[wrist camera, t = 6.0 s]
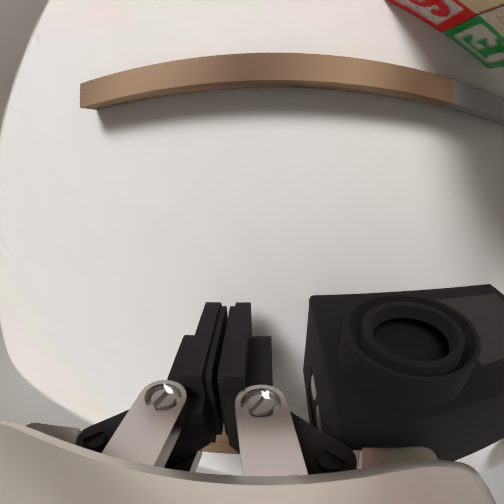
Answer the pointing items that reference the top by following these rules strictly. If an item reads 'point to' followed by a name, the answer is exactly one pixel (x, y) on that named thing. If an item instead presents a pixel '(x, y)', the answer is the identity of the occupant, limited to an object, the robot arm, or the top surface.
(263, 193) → the top surface
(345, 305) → the digital camera
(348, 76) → the shelf lane
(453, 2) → the stack of blocks
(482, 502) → the robot arm
